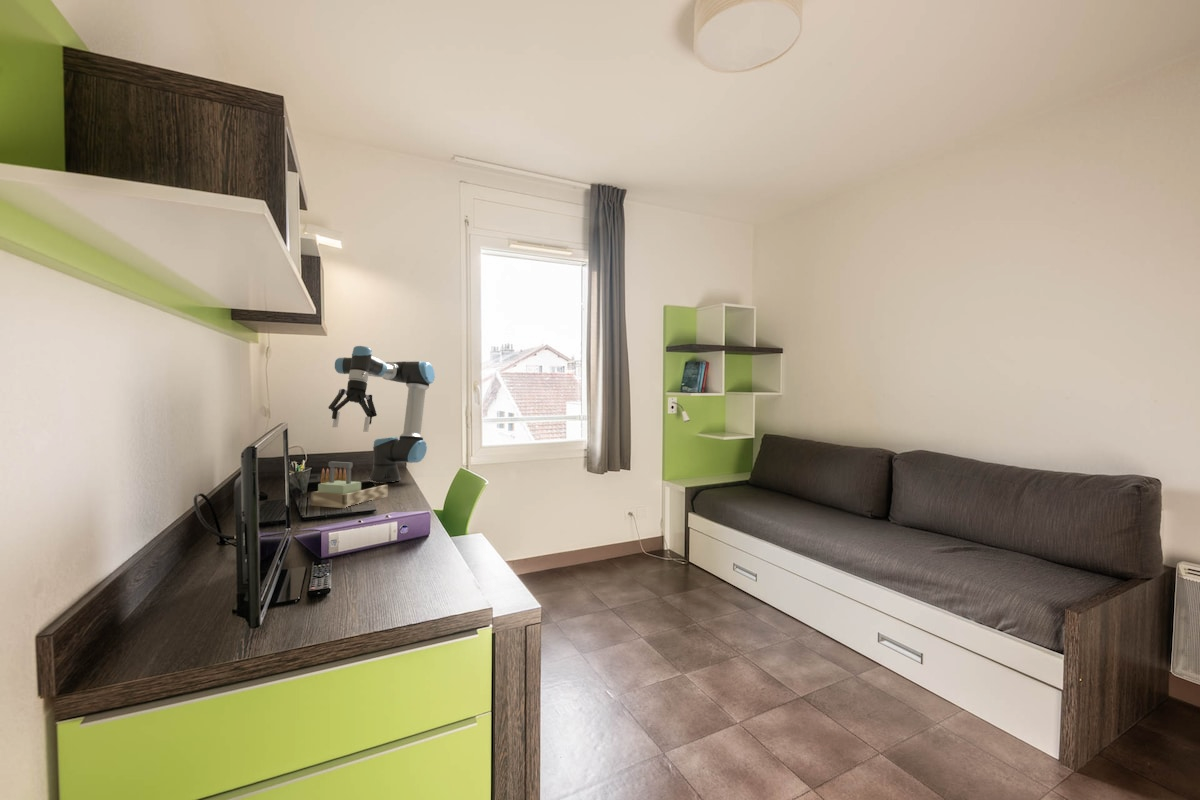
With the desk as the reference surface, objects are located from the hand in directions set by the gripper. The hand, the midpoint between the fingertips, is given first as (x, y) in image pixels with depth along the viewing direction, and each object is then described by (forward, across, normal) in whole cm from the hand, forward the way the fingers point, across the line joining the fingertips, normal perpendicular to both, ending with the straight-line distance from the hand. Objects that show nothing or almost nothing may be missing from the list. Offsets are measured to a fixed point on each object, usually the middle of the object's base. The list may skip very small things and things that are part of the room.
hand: (350, 429), depth 211 cm
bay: (+30, +4, -1) cm, 30 cm away
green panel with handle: (+30, -2, -3) cm, 30 cm away
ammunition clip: (+28, +6, +18) cm, 34 cm away
